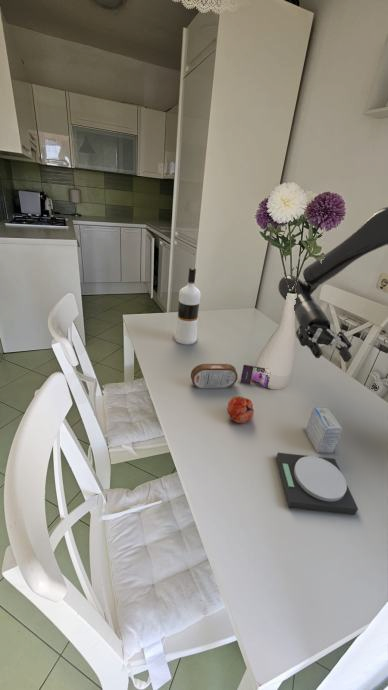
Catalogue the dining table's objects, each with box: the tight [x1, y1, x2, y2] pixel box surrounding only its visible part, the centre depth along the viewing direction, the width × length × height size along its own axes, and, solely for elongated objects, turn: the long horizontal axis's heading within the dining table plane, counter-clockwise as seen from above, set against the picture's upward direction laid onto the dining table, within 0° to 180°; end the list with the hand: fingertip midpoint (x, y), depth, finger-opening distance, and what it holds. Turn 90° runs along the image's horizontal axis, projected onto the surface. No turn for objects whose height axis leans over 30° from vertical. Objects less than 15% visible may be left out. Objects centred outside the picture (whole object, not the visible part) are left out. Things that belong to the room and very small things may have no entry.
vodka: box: [173, 267, 202, 345], centre depth 119 cm, size 9×9×30 cm
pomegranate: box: [226, 396, 255, 424], centre depth 85 cm, size 7×7×10 cm
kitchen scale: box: [275, 452, 359, 516], centre depth 68 cm, size 14×13×4 cm
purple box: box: [240, 364, 270, 389], centre depth 102 cm, size 7×5×9 cm
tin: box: [190, 363, 238, 389], centre depth 97 cm, size 15×3×8 cm, turn 100°
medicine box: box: [305, 407, 343, 453], centre depth 79 cm, size 8×4×9 cm, turn 5°
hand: (334, 357), depth 78 cm, fingers open, 8 cm apart
